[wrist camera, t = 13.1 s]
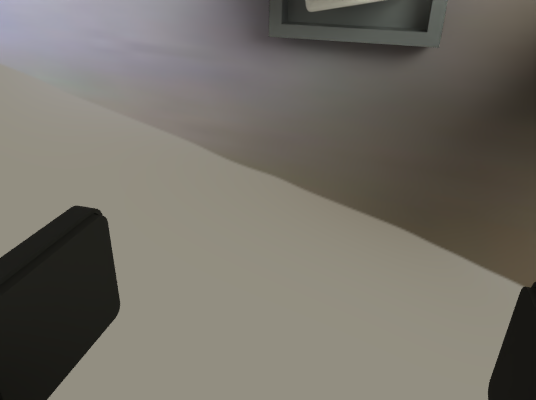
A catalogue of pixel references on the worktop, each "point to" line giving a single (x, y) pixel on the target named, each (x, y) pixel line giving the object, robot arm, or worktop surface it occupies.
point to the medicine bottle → (333, 4)
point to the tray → (362, 22)
